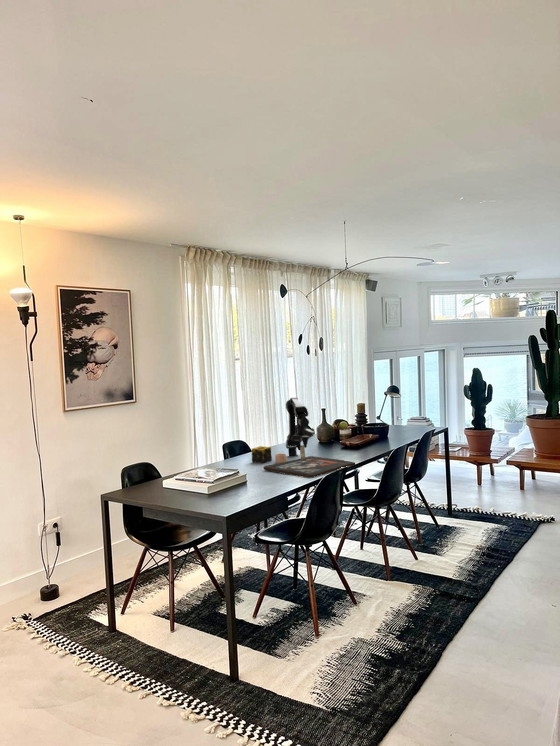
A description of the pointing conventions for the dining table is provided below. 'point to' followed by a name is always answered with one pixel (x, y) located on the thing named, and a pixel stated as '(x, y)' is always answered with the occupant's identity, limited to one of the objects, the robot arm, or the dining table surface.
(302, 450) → the birch pin
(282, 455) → the terracotta cup
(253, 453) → the candle
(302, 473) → the religious icon
